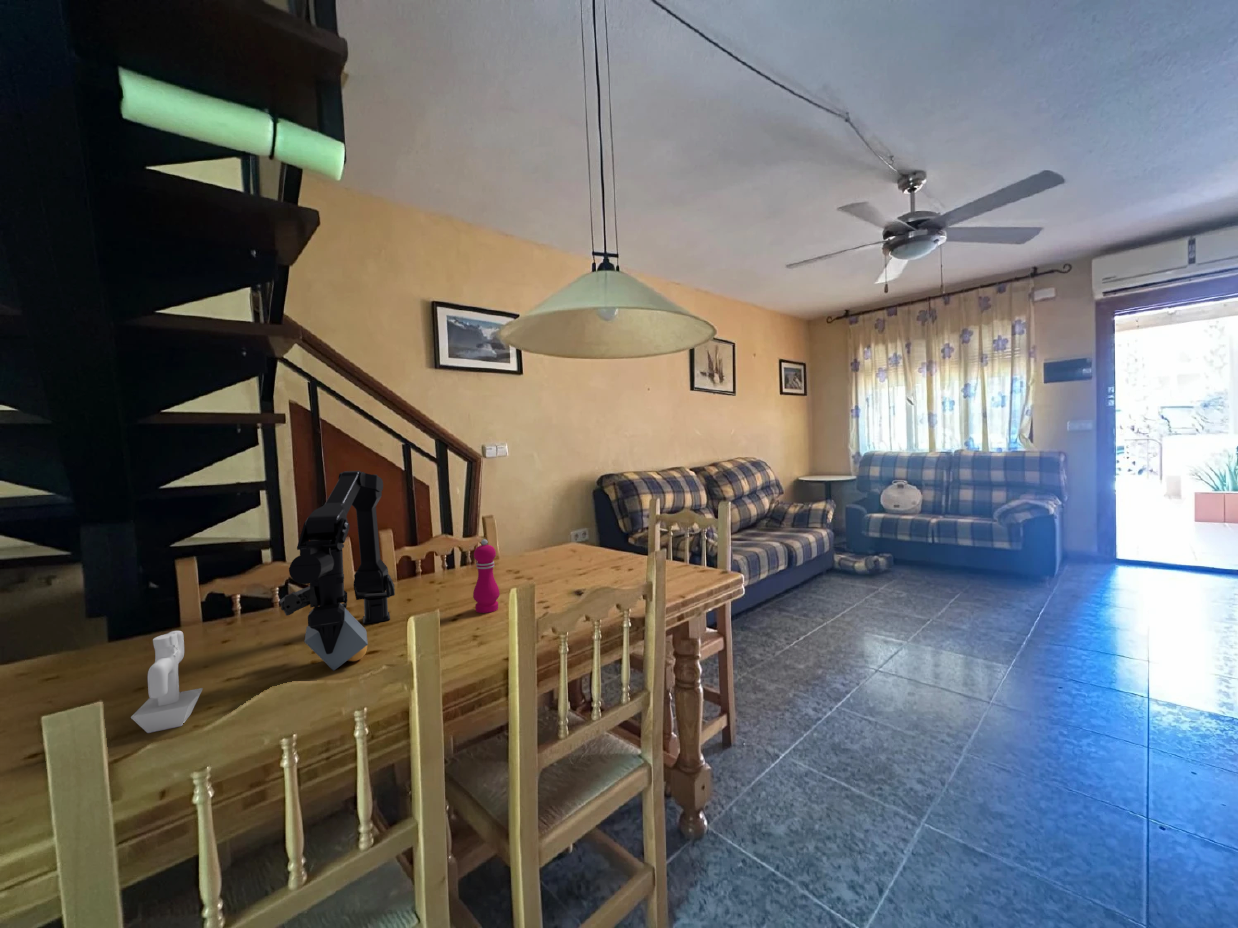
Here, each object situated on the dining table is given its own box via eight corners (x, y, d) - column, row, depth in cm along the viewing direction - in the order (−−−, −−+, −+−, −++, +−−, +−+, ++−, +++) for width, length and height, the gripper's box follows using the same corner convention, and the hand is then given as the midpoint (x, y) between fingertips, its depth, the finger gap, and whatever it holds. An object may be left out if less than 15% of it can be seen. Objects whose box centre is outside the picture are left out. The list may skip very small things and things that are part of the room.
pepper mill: (493, 614, 136) (490, 541, 135) (468, 613, 137) (466, 541, 137) (504, 606, 143) (501, 537, 142) (481, 605, 144) (478, 537, 144)
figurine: (128, 743, 78) (123, 648, 77) (153, 715, 86) (149, 630, 86) (187, 731, 81) (182, 640, 80) (206, 705, 89) (201, 622, 89)
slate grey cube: (334, 654, 109) (306, 626, 106) (366, 630, 112) (340, 602, 109) (333, 670, 102) (304, 641, 99) (367, 644, 105) (340, 615, 102)
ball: (367, 632, 111) (365, 654, 111) (342, 634, 108) (340, 657, 108) (368, 639, 106) (366, 663, 106) (342, 642, 104) (340, 666, 104)
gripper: (288, 570, 110) (291, 640, 110) (274, 587, 93) (278, 670, 93) (346, 564, 115) (348, 631, 115) (342, 579, 98) (345, 658, 98)
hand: (330, 646), depth 105 cm, fingers open, 9 cm apart
